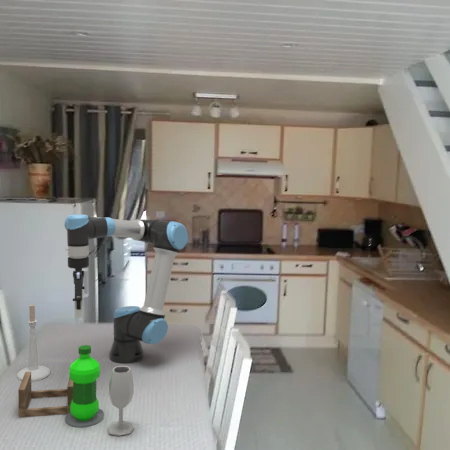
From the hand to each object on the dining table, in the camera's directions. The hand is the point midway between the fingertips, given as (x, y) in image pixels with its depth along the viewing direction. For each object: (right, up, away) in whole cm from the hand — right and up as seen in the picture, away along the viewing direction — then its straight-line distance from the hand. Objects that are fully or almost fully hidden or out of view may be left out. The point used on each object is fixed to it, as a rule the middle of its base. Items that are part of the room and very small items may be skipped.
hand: (79, 311), depth 187 cm
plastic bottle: (+6, -34, -16) cm, 38 cm away
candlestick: (-24, -29, +18) cm, 42 cm away
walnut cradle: (-9, -33, -7) cm, 35 cm away
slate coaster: (+6, -34, -15) cm, 38 cm away
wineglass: (+20, -36, -22) cm, 46 cm away
